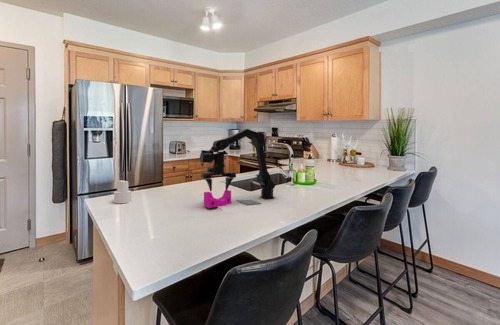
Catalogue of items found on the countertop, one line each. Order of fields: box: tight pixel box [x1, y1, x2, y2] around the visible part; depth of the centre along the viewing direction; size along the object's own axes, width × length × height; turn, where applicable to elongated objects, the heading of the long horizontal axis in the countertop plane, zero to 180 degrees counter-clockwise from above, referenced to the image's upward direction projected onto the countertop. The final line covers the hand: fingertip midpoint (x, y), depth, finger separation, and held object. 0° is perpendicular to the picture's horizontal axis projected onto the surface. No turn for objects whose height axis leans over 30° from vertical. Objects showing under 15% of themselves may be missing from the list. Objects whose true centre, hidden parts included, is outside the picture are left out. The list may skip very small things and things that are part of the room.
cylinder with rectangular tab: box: [113, 180, 132, 204], centre depth 153 cm, size 9×9×12 cm
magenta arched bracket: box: [203, 189, 232, 209], centre depth 145 cm, size 15×6×8 cm, turn 127°
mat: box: [235, 199, 262, 206], centre depth 154 cm, size 9×18×1 cm, turn 28°
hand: (218, 190), depth 148 cm, fingers open, 9 cm apart
